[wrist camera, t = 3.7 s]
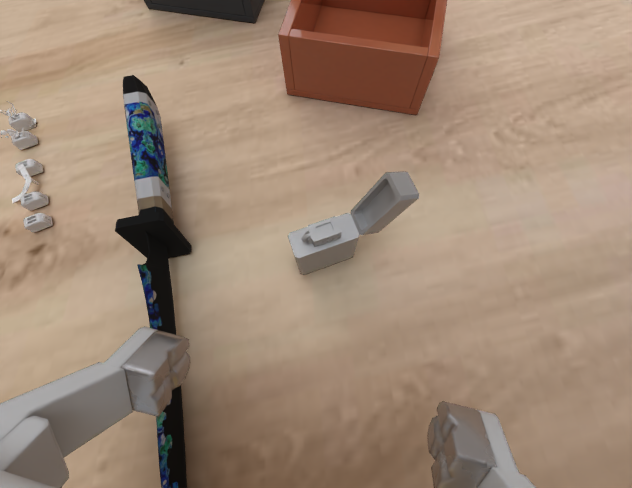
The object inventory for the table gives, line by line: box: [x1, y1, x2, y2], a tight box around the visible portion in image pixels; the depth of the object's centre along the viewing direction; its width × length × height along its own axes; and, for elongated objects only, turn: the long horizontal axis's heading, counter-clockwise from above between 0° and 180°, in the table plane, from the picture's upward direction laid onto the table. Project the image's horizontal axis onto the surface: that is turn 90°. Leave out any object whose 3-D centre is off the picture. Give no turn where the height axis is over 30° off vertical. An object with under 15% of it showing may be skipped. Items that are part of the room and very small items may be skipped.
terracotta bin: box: [278, 0, 447, 115], centre depth 27 cm, size 12×12×6 cm
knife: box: [115, 75, 191, 488], centre depth 21 cm, size 31×3×4 cm, turn 8°
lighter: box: [288, 171, 419, 275], centre depth 19 cm, size 7×2×8 cm, turn 110°
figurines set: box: [0, 101, 53, 232], centre depth 25 cm, size 12×3×3 cm, turn 24°
